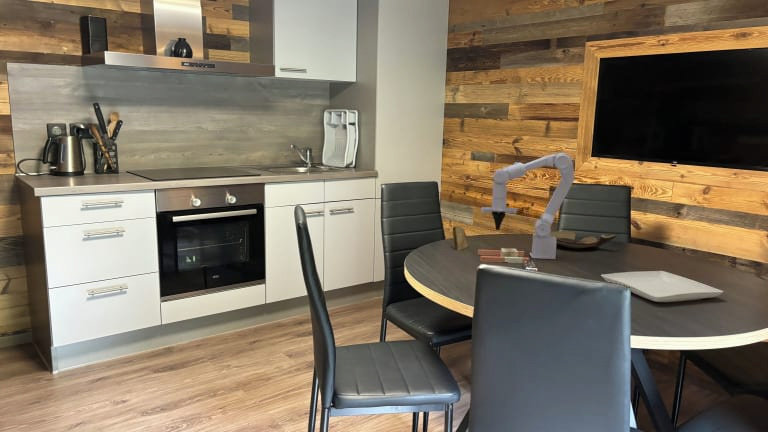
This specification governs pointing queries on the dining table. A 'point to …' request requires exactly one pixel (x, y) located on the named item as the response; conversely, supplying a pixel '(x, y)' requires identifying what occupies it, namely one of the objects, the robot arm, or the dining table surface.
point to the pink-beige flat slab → (501, 259)
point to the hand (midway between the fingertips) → (497, 229)
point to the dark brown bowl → (569, 238)
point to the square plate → (662, 286)
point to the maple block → (509, 252)
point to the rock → (459, 238)
